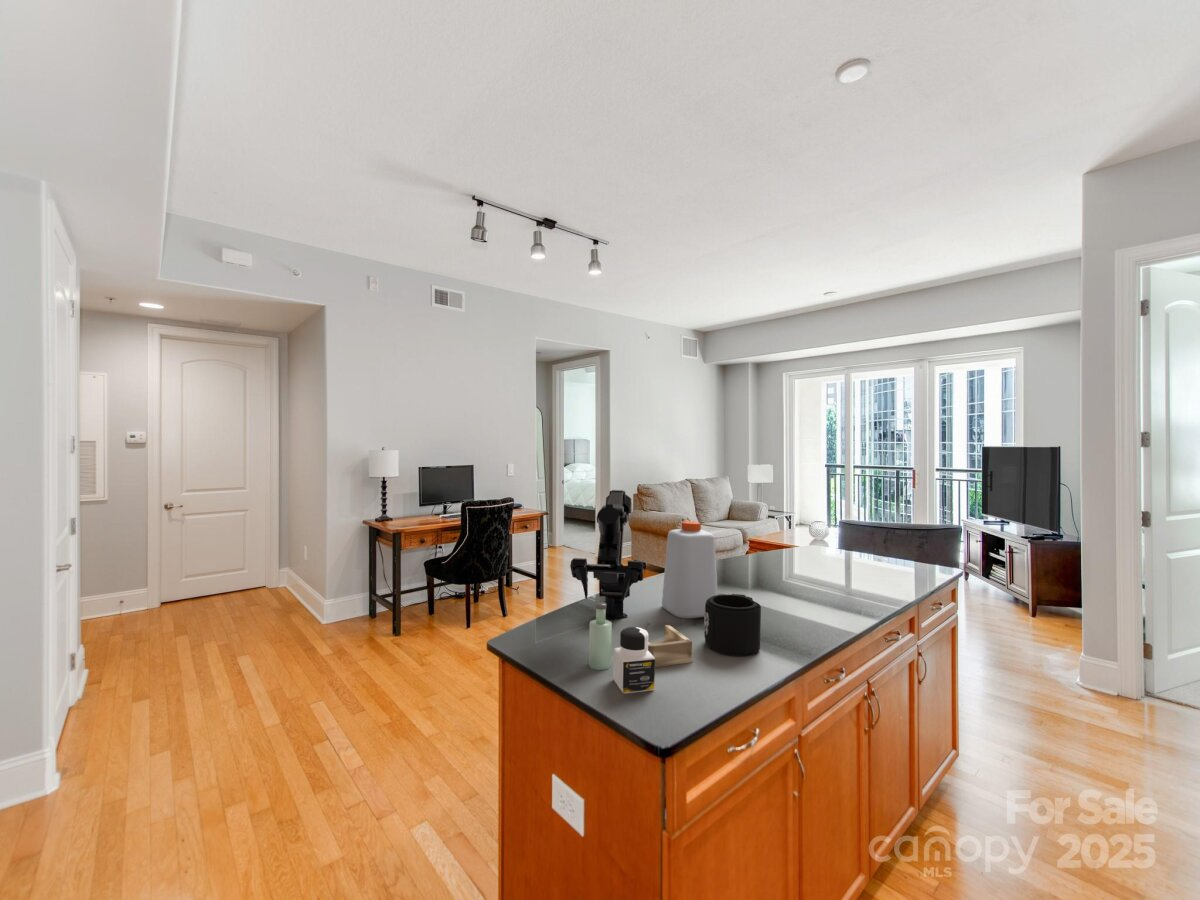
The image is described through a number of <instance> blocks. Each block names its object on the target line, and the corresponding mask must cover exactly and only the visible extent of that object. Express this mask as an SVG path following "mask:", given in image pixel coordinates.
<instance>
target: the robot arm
mask: <svg viewBox="0 0 1200 900" xmlns="http://www.w3.org/2000/svg"><path fill="white" fill-rule="evenodd" d="M632 505H633V503H632V498H631V497H630V496H629V495H628V494H626V491H625V490H620V489H619V490H617V489H611V490H609V495H607V496H606V497H605V504H604V505H603V506H601V508H600V509H599V510H598V512H597V515H596V523H597V524H598V532H599V541H598V550H597V551H598V552H597V559H596V563H588V560H587V558H580V557H573V558H572V560H571V561H570V565H569V567H570V571H571V572H570V573H571V576H572V578H574V579H576V580H577V581H580V582H581V584H582V585H581V586H582V587H583V593H584V598H585V600H587V599H588V595H589V594H588V593H589V592H588V590H589V589H588V588H589V587H588V586H589V585H588V584H589V578H588V576H589V575H588V573H593V574H592V575H593V579H596V581H598V591H599V592H598V593H599V594H598V595H599V597H603V599H604V600H603V601H604V602H603V603H606V604H607V605H606V613H605V619H606V620H615V619H622V618H628V614H627V613H625V612H624V600H625V599H627V598H628V597H630V595H631V586H632V585H633V584H637V583H638V582H642V581H644V563H643V562H642V560H627V565H624V564H622V561H623V545H624V531H625V530H624V529H625V526H626V524H627V523H628V522H629V521H630V514H632V511H633V510H632Z"/></svg>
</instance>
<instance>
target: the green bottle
mask: <svg viewBox="0 0 1200 900" xmlns="http://www.w3.org/2000/svg"><path fill="white" fill-rule="evenodd" d="M606 605H607V604H606V603H604V602H603V601H602V602H601V601H599V602H595V605H594V607H595V619H593V620H590V621H589V632H588V633H589V636H588V638H589V641H588V642H589V643H588V644H589V645H588V667H589V668H590V669H592V670H595V671H604V670H605V671H606V670H608V669H610V668H611V666H612V631H613V630H612V627H613V626H612V625H613V624H612V623H613V622H612V621H610V620H609V619H606V617H605V613H606Z"/></svg>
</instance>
